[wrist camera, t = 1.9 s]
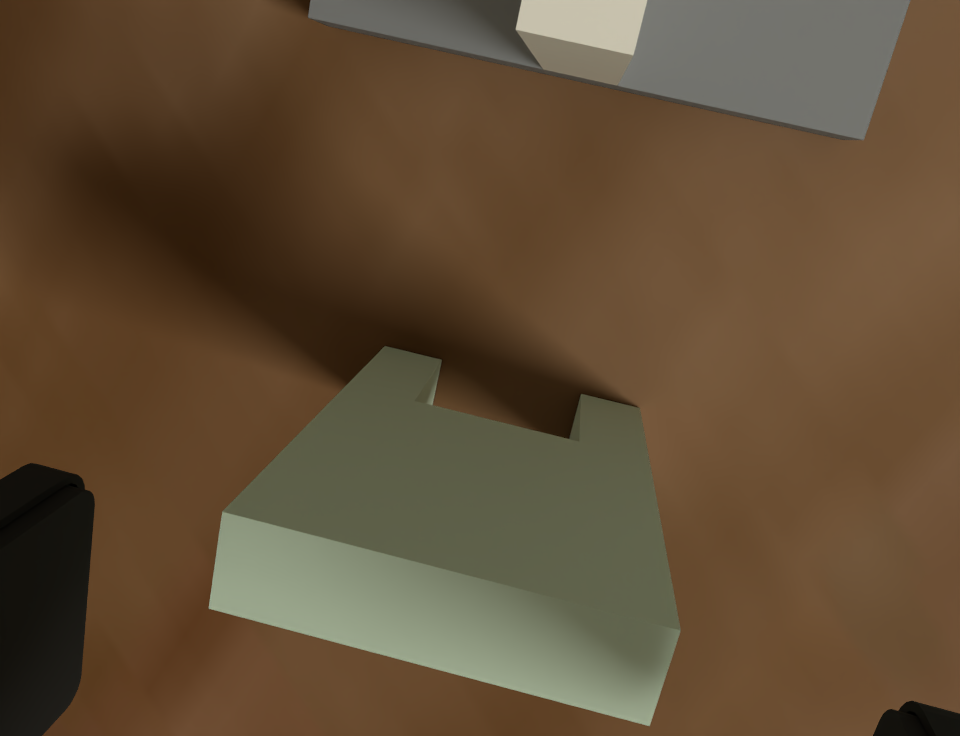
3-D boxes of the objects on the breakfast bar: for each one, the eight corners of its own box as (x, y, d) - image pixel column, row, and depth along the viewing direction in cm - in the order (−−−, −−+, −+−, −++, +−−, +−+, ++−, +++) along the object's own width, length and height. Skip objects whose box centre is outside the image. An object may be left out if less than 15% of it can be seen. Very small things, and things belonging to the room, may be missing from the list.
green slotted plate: (640, 408, 21) (680, 630, 12) (623, 466, 22) (649, 725, 12) (384, 345, 22) (222, 511, 12) (374, 404, 22) (208, 608, 13)
